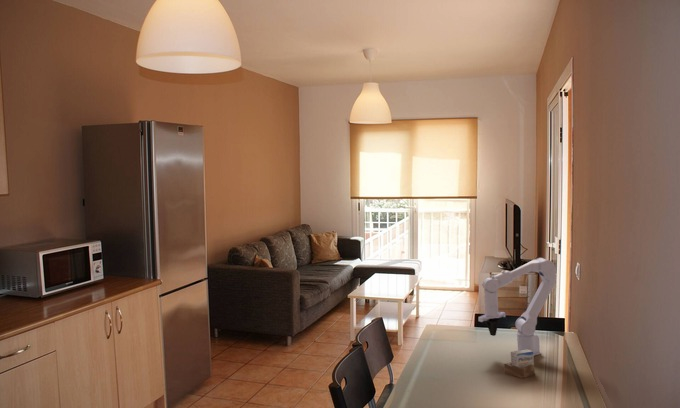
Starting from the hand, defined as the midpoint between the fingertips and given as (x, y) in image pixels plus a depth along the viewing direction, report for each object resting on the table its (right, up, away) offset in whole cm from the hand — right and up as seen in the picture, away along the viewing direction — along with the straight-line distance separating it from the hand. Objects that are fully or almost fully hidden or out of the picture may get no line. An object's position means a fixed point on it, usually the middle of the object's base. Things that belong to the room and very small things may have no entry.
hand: (493, 335), depth 242 cm
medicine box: (+6, -10, -23) cm, 25 cm away
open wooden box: (+5, -10, -23) cm, 26 cm away
